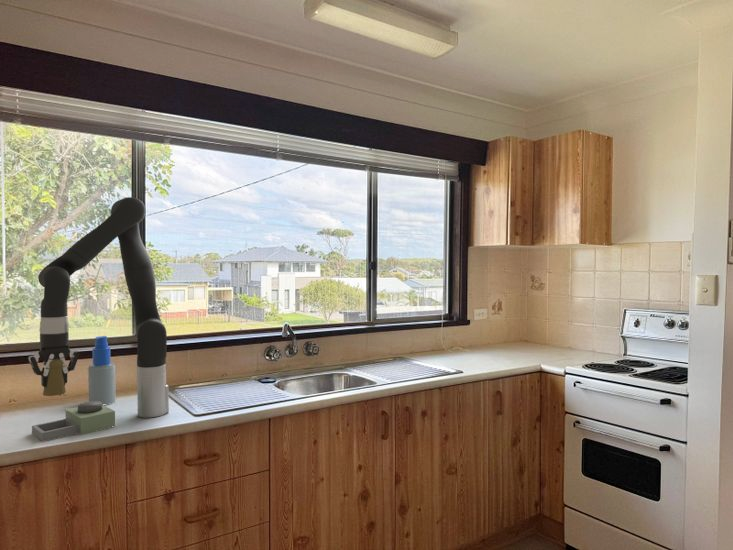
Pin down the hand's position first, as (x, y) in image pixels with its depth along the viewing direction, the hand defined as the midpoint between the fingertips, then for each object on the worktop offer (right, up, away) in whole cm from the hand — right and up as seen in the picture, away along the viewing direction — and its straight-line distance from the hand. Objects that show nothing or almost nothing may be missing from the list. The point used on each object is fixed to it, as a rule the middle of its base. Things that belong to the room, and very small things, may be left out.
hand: (54, 386), depth 154 cm
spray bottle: (-3, -14, +34) cm, 37 cm away
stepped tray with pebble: (+3, -15, +4) cm, 16 cm away
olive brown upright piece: (0, -2, 0) cm, 2 cm away
